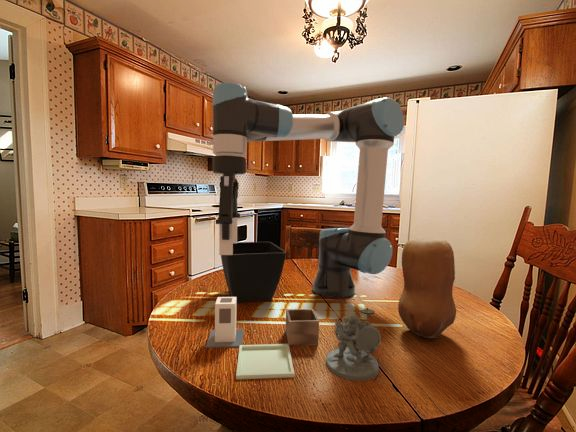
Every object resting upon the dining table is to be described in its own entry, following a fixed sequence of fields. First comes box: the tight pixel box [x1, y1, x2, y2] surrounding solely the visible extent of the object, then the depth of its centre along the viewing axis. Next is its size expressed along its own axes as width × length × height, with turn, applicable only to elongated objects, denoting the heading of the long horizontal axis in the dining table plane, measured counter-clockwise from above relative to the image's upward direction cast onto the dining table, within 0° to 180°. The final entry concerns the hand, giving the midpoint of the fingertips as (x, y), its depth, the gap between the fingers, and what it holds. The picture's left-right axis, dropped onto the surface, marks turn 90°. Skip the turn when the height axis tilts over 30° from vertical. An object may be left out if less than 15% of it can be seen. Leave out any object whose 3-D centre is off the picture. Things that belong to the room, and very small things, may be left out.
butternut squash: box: [397, 238, 457, 339], centre depth 74 cm, size 14×13×25 cm
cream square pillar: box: [214, 296, 238, 342], centre depth 69 cm, size 5×5×9 cm
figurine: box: [325, 307, 382, 382], centre depth 60 cm, size 11×11×12 cm
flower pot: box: [220, 241, 287, 304], centre depth 99 cm, size 19×19×17 cm
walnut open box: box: [284, 308, 320, 347], centre depth 71 cm, size 7×7×6 cm
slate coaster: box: [205, 328, 245, 349], centre depth 70 cm, size 8×8×1 cm
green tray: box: [235, 343, 295, 380], centre depth 61 cm, size 11×11×1 cm
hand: (229, 248), depth 69 cm, fingers open, 13 cm apart
